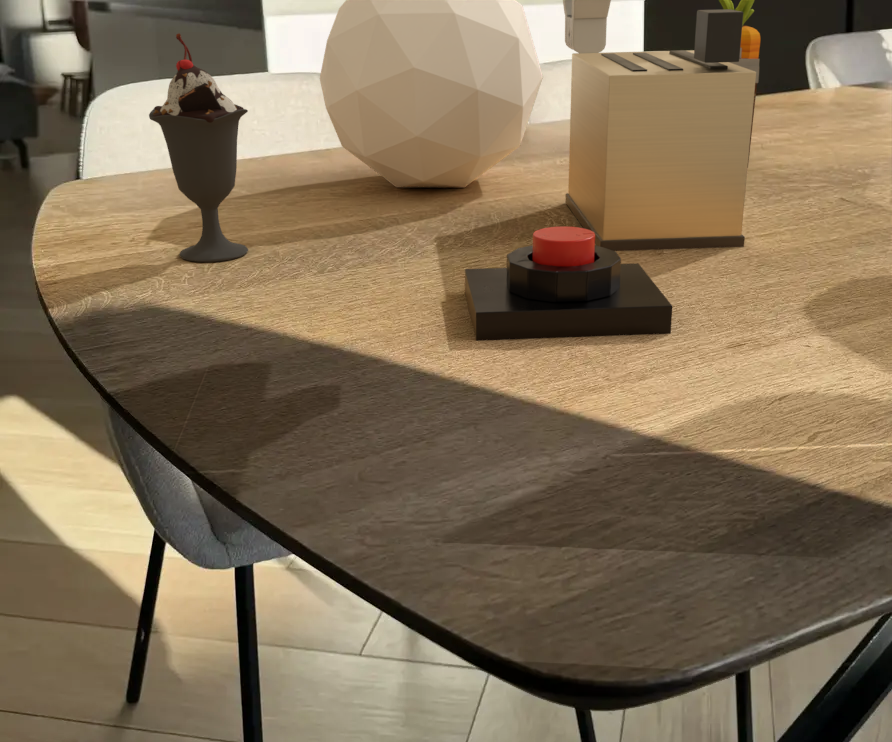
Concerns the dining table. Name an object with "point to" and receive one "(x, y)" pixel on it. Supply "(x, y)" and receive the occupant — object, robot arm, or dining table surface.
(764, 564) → the dining table surface
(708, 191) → the toaster
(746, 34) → the carrot
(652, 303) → the block
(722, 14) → the block
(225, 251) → the sundae
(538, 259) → the button
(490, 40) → the ball
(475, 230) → the dining table surface
